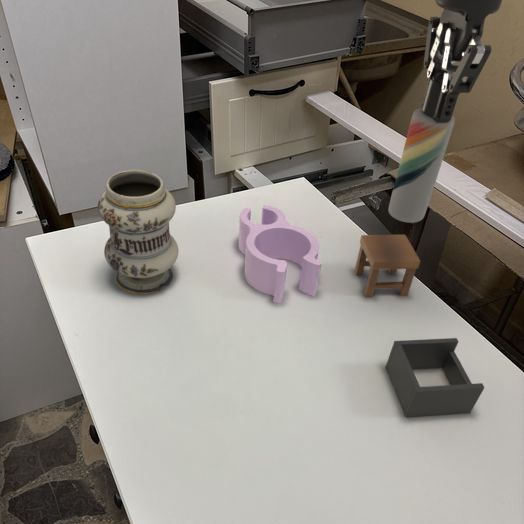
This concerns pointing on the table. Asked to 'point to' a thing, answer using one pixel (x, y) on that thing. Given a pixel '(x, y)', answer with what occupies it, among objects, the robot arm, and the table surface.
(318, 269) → the clip
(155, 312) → the table surface
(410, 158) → the lotion bottle
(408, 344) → the dark grey open box
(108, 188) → the apothecary jar
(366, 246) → the stool
